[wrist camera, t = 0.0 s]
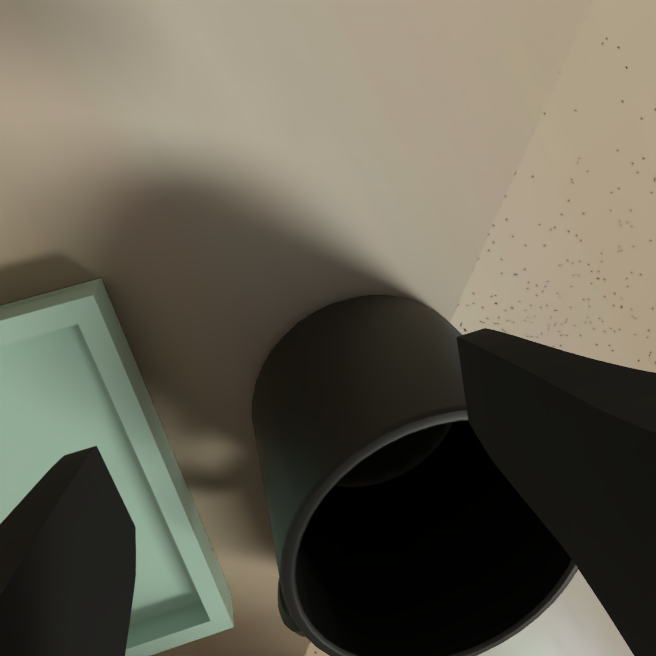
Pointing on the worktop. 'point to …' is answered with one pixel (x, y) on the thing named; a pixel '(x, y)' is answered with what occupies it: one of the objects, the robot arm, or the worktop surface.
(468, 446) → the mug
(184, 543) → the tray
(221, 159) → the worktop surface
